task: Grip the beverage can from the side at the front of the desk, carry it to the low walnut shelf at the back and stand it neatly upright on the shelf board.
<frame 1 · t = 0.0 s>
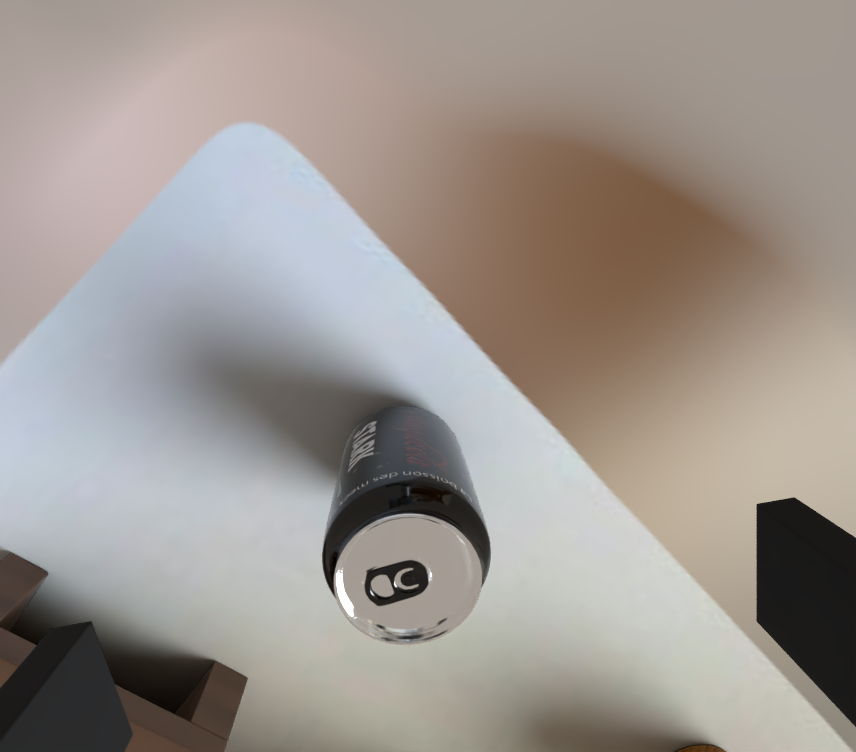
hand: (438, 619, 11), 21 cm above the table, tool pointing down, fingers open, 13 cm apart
beverage can: (402, 454, 32), on the table
shelf: (63, 718, 35), on the table
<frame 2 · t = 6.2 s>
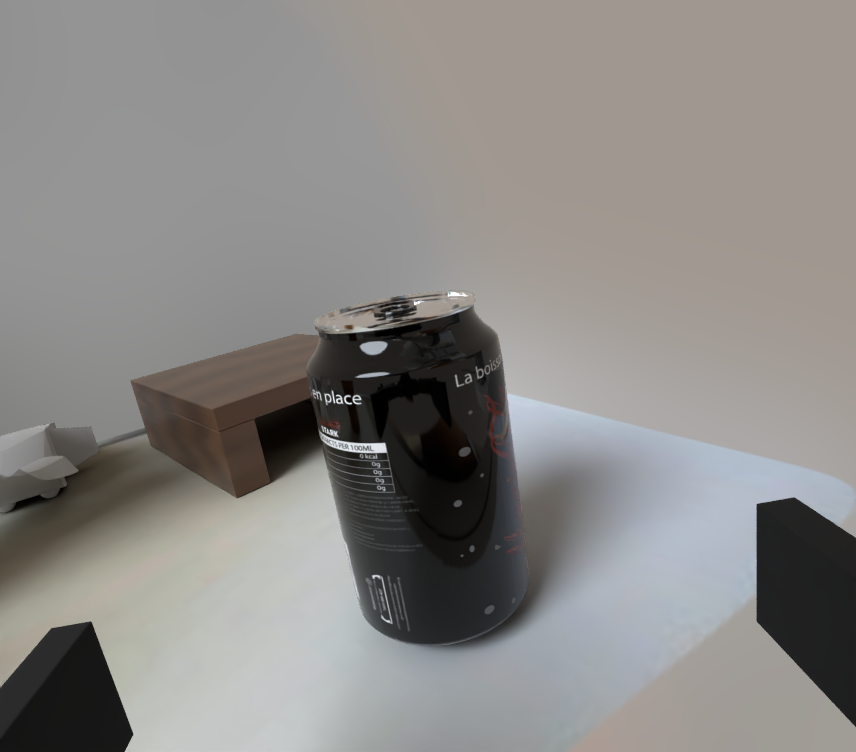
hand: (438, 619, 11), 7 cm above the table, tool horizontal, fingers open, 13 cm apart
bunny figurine: (33, 498, 41), on the table
beverage can: (447, 605, 22), on the table
shelf: (281, 430, 46), on the table
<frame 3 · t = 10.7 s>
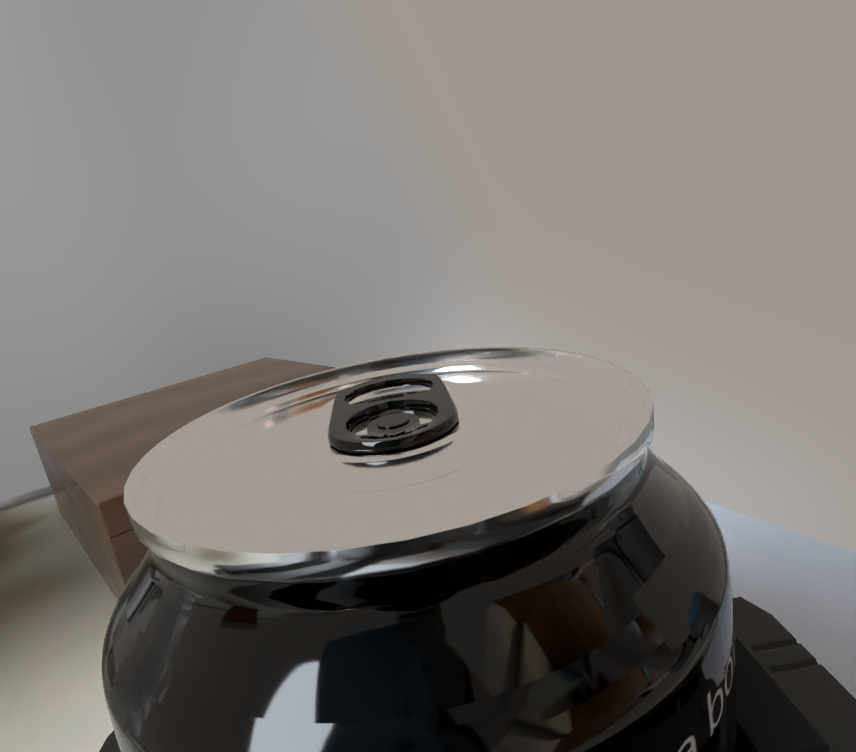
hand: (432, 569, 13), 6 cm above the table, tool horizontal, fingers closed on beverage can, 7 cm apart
shelf: (237, 496, 34), on the table
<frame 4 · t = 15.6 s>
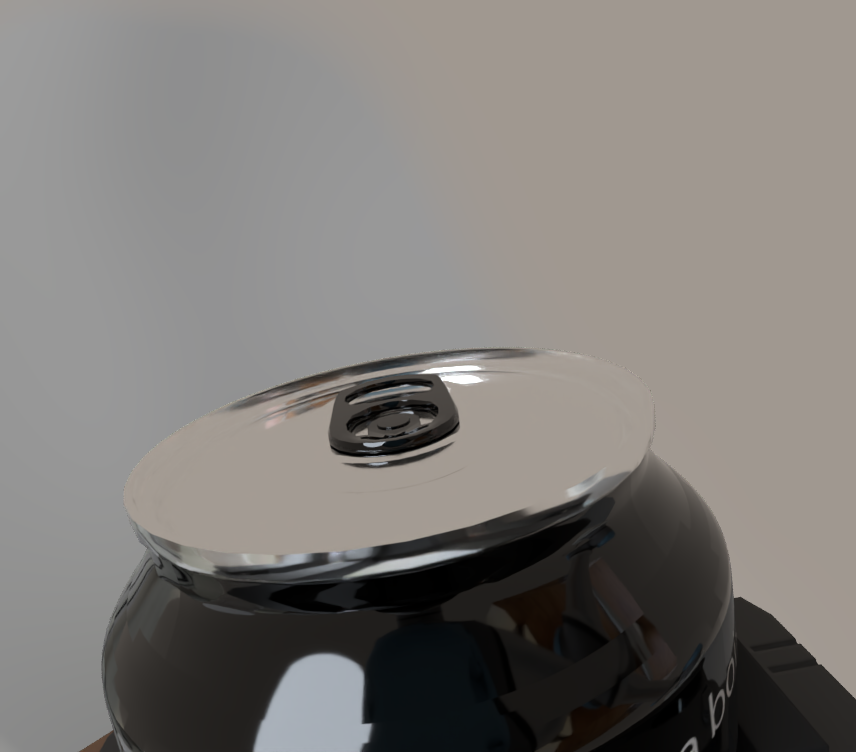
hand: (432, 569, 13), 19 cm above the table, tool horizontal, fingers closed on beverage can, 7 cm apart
when the fingers open (12 cm above the table, at t = 20.7 s): beverage can stays where it is, resting on shelf.
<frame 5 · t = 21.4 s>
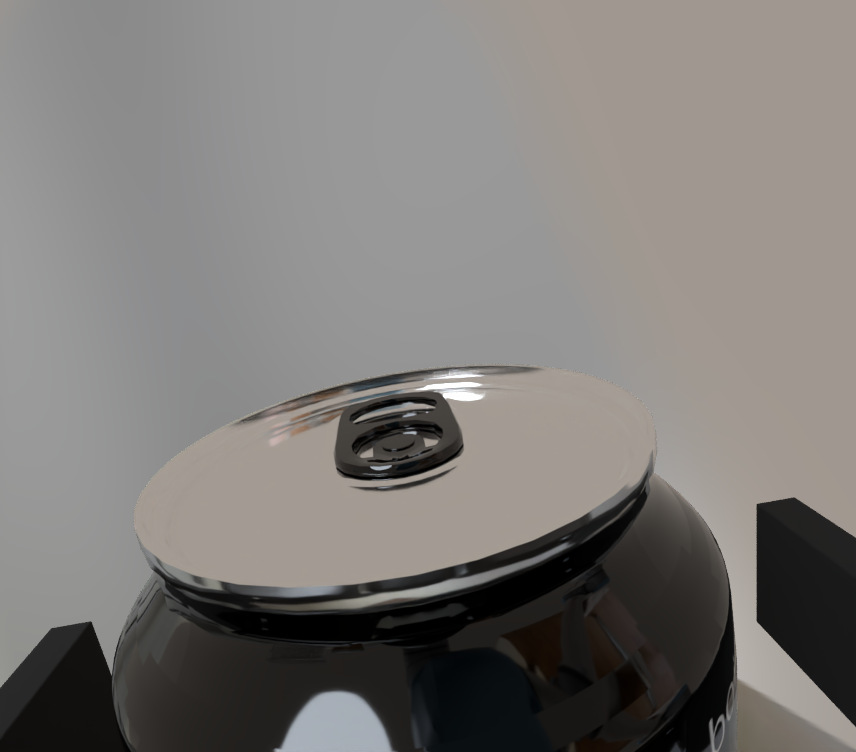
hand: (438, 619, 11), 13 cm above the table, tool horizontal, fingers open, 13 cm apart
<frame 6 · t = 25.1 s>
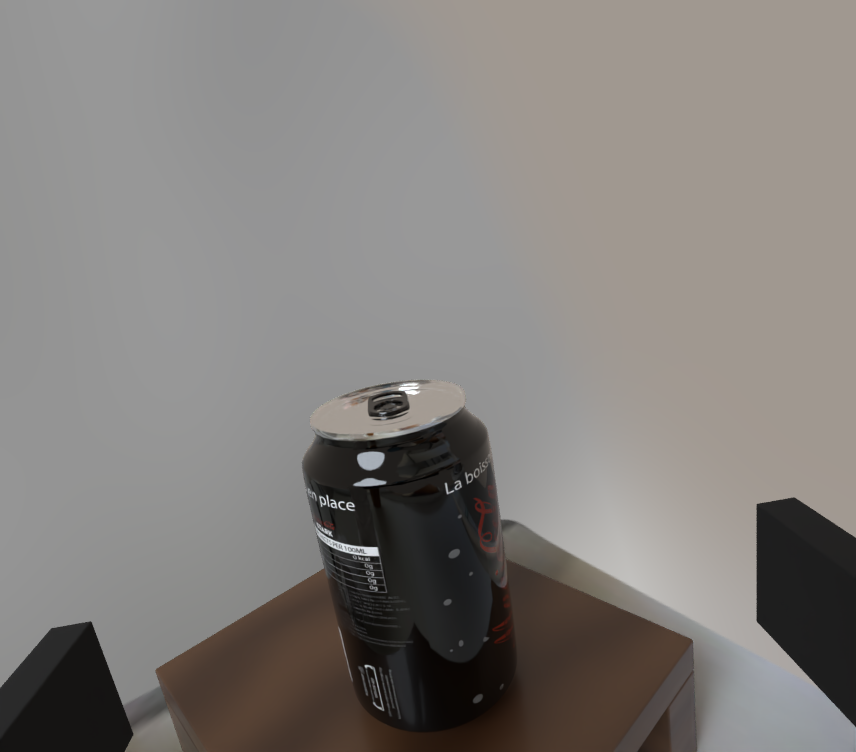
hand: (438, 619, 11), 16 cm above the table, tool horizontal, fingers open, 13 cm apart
beverage can: (438, 681, 23), point 6 cm above the table, touching shelf
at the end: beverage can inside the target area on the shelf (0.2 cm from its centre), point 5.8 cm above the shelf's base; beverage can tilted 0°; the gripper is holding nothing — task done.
